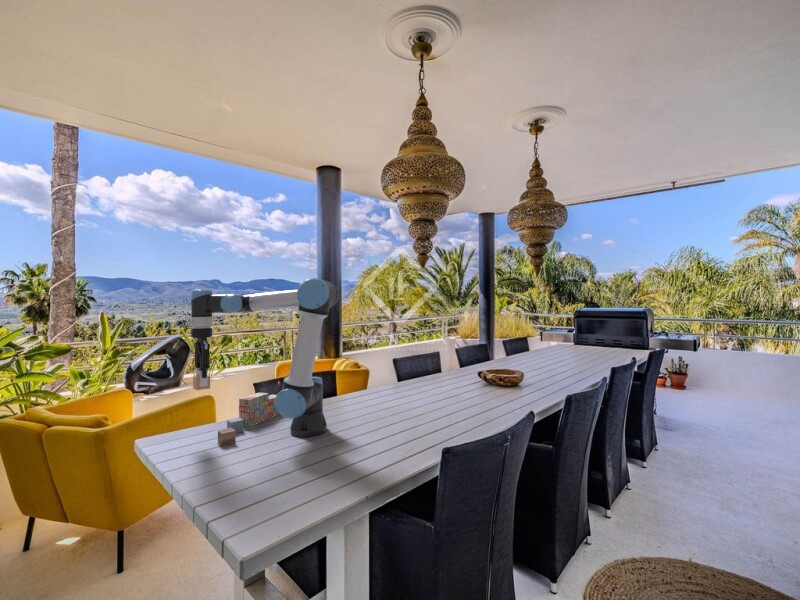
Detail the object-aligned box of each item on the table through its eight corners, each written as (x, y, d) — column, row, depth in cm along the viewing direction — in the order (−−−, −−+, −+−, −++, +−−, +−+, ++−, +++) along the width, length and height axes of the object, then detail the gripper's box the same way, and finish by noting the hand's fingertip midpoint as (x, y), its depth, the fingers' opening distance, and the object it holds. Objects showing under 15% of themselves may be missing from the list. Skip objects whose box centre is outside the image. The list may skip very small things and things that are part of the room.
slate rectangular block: (243, 431, 154) (243, 420, 154) (230, 434, 150) (230, 422, 150) (239, 429, 157) (239, 417, 157) (227, 431, 154) (227, 419, 154)
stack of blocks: (271, 412, 182) (271, 388, 183) (281, 413, 180) (281, 389, 180) (238, 425, 162) (238, 398, 163) (249, 426, 160) (249, 399, 160)
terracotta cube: (210, 388, 145) (210, 375, 145) (196, 390, 142) (196, 377, 142) (206, 386, 149) (206, 374, 149) (193, 388, 146) (193, 375, 146)
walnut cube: (235, 443, 140) (235, 430, 140) (221, 446, 137) (221, 433, 137) (231, 440, 144) (231, 427, 144) (217, 443, 140) (217, 430, 140)
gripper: (186, 327, 150) (185, 383, 150) (197, 328, 137) (197, 390, 136) (205, 326, 155) (205, 380, 155) (218, 327, 142) (218, 387, 141)
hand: (201, 384), depth 146 cm, fingers closed on terracotta cube, 5 cm apart
